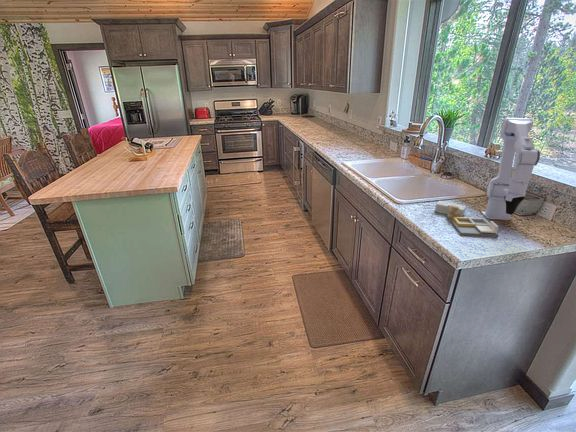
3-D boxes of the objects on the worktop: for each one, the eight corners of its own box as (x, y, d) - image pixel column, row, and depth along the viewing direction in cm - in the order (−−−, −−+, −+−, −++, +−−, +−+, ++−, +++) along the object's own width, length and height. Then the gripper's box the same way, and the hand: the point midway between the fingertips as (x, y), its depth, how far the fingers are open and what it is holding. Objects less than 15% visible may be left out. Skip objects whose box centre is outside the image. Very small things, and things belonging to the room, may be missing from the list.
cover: (490, 227, 128) (492, 221, 126) (496, 233, 123) (498, 226, 122) (475, 226, 129) (477, 220, 127) (480, 232, 124) (482, 225, 123)
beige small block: (454, 217, 142) (457, 205, 139) (457, 220, 138) (460, 208, 136) (445, 216, 142) (448, 204, 140) (448, 220, 139) (451, 208, 136)
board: (483, 223, 135) (484, 218, 134) (497, 237, 123) (498, 231, 122) (449, 221, 137) (450, 216, 136) (460, 235, 125) (461, 230, 124)
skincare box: (439, 200, 150) (466, 205, 143) (437, 208, 152) (464, 213, 145) (435, 204, 146) (464, 209, 139) (434, 212, 148) (462, 218, 141)
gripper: (514, 175, 123) (505, 206, 129) (500, 182, 115) (491, 215, 120) (535, 179, 118) (524, 211, 124) (522, 187, 110) (511, 220, 115)
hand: (509, 213), depth 122 cm, fingers closed
